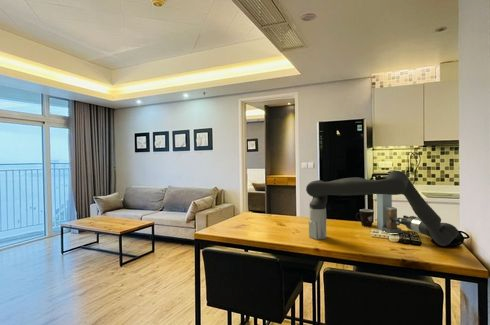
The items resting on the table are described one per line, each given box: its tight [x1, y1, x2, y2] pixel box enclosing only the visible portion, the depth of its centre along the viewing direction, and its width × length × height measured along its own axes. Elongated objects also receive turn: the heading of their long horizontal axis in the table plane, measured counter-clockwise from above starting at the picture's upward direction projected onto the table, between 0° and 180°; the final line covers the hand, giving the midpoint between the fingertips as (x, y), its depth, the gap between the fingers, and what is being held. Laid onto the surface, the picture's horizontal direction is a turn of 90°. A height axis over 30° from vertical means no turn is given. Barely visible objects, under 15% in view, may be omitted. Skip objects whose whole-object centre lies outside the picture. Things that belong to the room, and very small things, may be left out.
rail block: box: [386, 206, 398, 229], centre depth 160 cm, size 4×4×15 cm
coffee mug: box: [355, 208, 375, 228], centre depth 177 cm, size 12×9×10 cm
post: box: [376, 194, 393, 231], centre depth 166 cm, size 7×7×24 cm
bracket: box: [381, 226, 403, 234], centre depth 160 cm, size 8×7×3 cm
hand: (396, 217), depth 155 cm, fingers open, 8 cm apart
